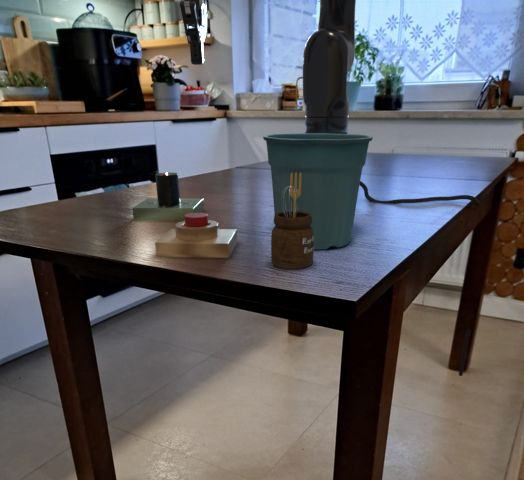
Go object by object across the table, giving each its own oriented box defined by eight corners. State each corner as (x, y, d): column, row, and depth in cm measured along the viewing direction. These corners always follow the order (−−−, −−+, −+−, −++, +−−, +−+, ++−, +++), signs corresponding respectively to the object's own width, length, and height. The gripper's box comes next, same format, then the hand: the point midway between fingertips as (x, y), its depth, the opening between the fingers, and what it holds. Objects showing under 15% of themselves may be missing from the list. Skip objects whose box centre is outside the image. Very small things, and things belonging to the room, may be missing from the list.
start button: (210, 224, 81) (210, 212, 80) (206, 229, 78) (205, 217, 77) (188, 223, 81) (187, 212, 80) (182, 229, 78) (181, 217, 77)
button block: (237, 242, 85) (236, 217, 83) (228, 258, 76) (227, 231, 75) (171, 241, 86) (169, 217, 84) (156, 257, 77) (153, 230, 76)
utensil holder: (268, 269, 71) (267, 179, 66) (274, 257, 77) (274, 172, 71) (311, 271, 70) (314, 179, 65) (314, 258, 76) (317, 172, 70)
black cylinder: (160, 200, 105) (158, 170, 103) (182, 200, 105) (179, 170, 102) (155, 204, 101) (152, 173, 99) (177, 204, 101) (175, 173, 98)
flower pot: (315, 225, 95) (318, 130, 88) (385, 242, 84) (396, 134, 76) (243, 239, 86) (241, 135, 79) (311, 261, 74) (315, 141, 67)
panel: (204, 210, 108) (203, 197, 107) (194, 221, 99) (193, 207, 98) (148, 210, 109) (147, 197, 108) (133, 220, 100) (131, 206, 99)
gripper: (178, -39, 97) (186, 66, 104) (159, -58, 85) (169, 63, 92) (218, -41, 96) (222, 66, 104) (204, -60, 84) (210, 62, 92)
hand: (197, 64), depth 98 cm, fingers closed
